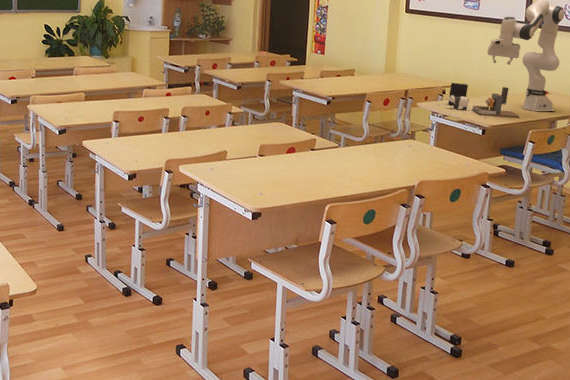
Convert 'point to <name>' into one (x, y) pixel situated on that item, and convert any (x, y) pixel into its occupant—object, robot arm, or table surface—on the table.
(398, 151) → the table surface
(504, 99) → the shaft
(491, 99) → the collar
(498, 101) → the dark grey stand
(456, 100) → the giant panda
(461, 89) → the calculator
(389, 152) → the table surface
